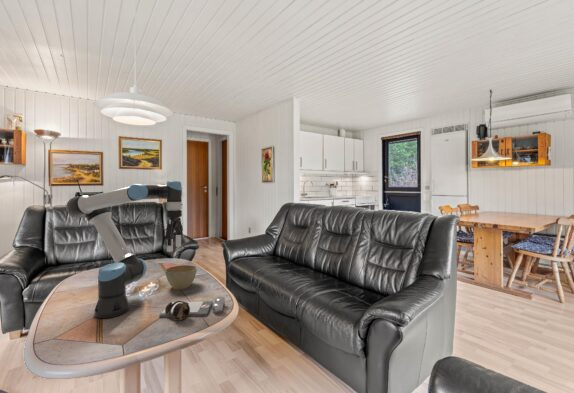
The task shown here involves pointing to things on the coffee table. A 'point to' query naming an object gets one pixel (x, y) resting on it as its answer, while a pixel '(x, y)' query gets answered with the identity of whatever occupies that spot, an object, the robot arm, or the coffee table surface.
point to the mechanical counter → (178, 310)
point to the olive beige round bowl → (181, 276)
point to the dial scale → (193, 309)
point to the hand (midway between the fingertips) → (174, 249)
